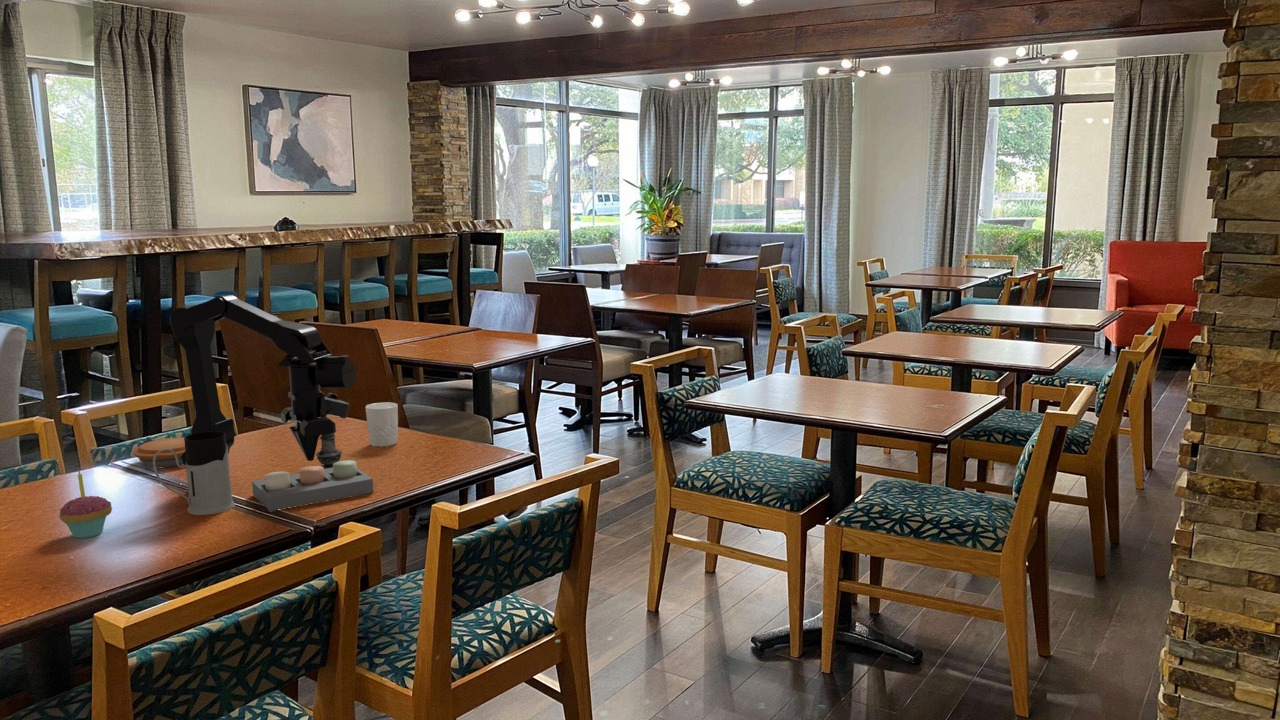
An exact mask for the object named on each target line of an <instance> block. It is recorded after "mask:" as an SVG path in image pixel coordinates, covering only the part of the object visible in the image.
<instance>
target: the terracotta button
mask: <svg viewBox="0 0 1280 720" xmlns="http://www.w3.org/2000/svg"><path fill="white" fill-rule="evenodd" d="M299 473H300V484H301V485H302V486H303V485H309V484H315V483H320V482H325V480H324V468H323V467H322V466H321V465H309V466H306V467H302V468H301V467H300V468H299Z"/></svg>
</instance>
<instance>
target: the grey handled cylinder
mask: <svg viewBox="0 0 1280 720" xmlns="http://www.w3.org/2000/svg"><path fill="white" fill-rule="evenodd" d="M184 441H185V452H186V465H179V461H178V456H177V454H176V453H175V452H174V451H173V450H171V449H167V448H165V449H161V450H159V451H158V452H157V453H156V454H155V455H154V457H153V467H154V468H153V472H154V474H155V476H156V478H157V479H158V481H159V483H160V484H161V485H162V486H163V487H164V488H165V489H167V490H169V491H171V492H173V493H174V494H177V495H179V496H180V497H183V498H184V499H186V500H187V504H188V508H187V513H188V514H190V515H193V516H209V515H215V514H220V513H223V512H228V511H230V510H232V509H234V508H235V506H236V503H235V501H234V500H233V494H232V493H233V491H232V481H231V473H230V471H231V470H230V461H229V459H230V458H229V454H228V447H227V443H226V435H225V433H224V432H218V431H211V432H200V433H195V434H191V433H190V434H188V435H186V436H184ZM165 450H168V451H171V452H172V453H173V454H174V456H175V459H176V464H177V466H176V467H179V468H185V473H186V480H187V491H188V496H186V495H184V494H183V493H181V492H179V491H177V490H175V489H174V488H171V487H170V486H169V485H167V484H166V483H165V482H164V481H163V480H162V478H161V476H160V475H159V473H158V471H157V468H156V465H155V459H156V456H157V455H158V454H159V453H160V452H162V451H165Z"/></svg>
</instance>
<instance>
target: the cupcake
mask: <svg viewBox="0 0 1280 720" xmlns="http://www.w3.org/2000/svg"><path fill="white" fill-rule="evenodd" d="M77 472H78V474H77V479H78V485H79V492H80V496H79V497H76V498H74V499H73V498H72V499H71V500H69V501H68V502H66V503H65V504H64V505H63V506H62V507H61V508H60V509H59V517H58V518H59V520H60V521H61V522H63V523H65V525H66V526H67V527H68V529H69V532H70V533H71V535H72V537H74V538H75V539H87V538H93V537H95V536H99V535H100V534H102V533H103V531H104V526H105V522H106V518H107V516H110V514H111V513H112V510H113V507H112V502H111V501H109V500H108V499H107V498H104V497H103V496H101V497H100V496H98V495H87V496H86V493H85V492H86V491H85V486H84V481H83V474H82V473H81V470H80V469H78V470H77Z"/></svg>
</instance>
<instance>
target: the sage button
mask: <svg viewBox="0 0 1280 720" xmlns="http://www.w3.org/2000/svg"><path fill="white" fill-rule="evenodd" d="M357 465H358V464H357V461H356V460H339V461H338V462H336V463H334V464H333V472H334V478H335V479H336V480H337V479H342V478H348V477H354V476H357V469H358V467H357Z"/></svg>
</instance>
